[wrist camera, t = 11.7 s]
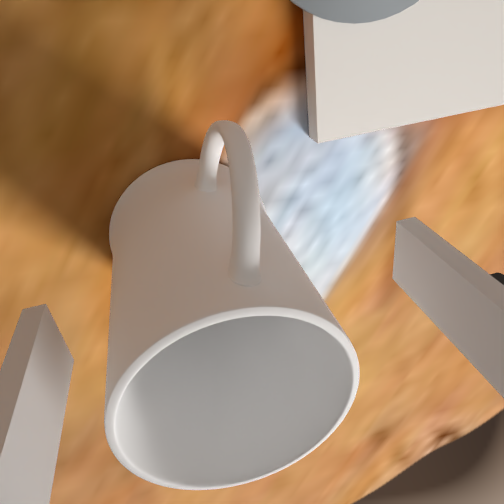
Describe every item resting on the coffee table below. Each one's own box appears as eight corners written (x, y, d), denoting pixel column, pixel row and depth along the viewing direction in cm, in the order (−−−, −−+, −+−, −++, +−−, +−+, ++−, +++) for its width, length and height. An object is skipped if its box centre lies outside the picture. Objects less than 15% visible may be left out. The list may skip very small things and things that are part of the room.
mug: (120, 72, 18) (113, 157, 8) (298, 107, 21) (456, 203, 11) (104, 294, 23) (87, 510, 13) (248, 299, 26) (323, 481, 16)
